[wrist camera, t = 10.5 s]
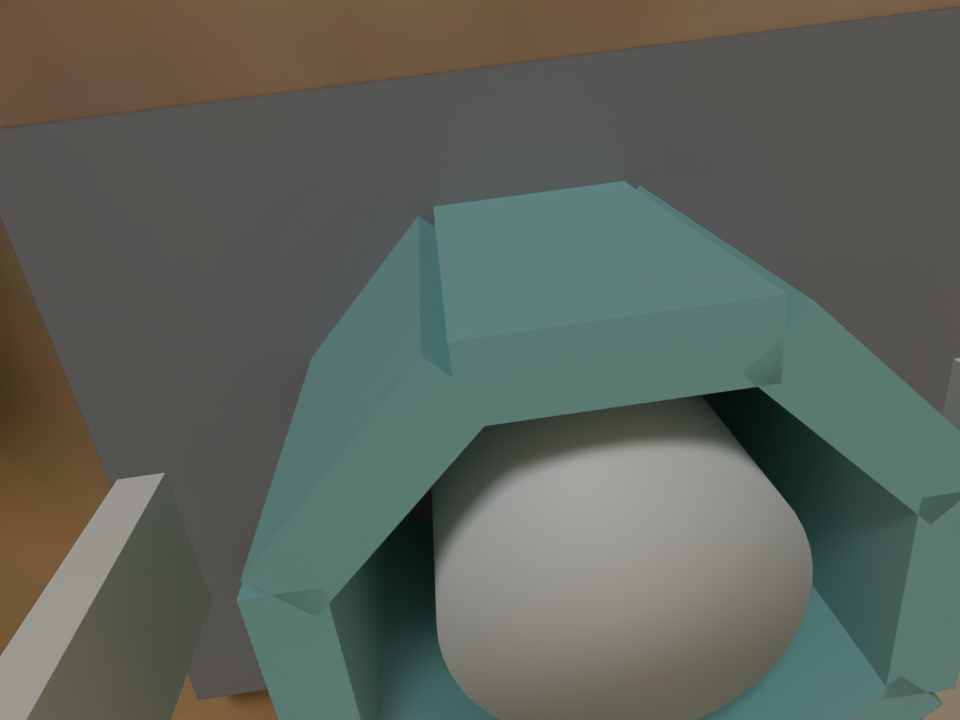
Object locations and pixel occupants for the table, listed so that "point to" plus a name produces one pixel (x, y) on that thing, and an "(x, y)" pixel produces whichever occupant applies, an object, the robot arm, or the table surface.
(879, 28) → the stand
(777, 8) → the table surface
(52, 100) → the table surface
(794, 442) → the collar
